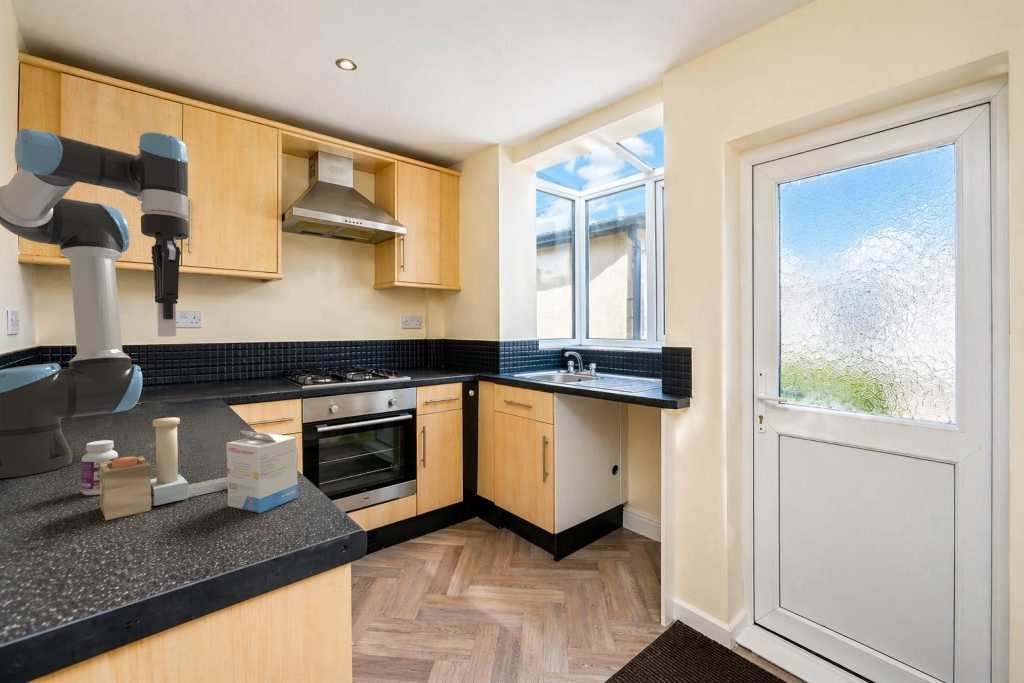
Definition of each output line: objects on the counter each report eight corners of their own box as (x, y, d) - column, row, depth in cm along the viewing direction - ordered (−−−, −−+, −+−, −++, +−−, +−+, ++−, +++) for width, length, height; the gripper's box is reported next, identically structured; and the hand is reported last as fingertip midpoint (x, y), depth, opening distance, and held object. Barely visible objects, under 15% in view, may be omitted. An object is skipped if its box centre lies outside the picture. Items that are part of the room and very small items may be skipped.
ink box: (299, 498, 87) (298, 427, 87) (258, 514, 80) (257, 437, 79) (268, 491, 91) (267, 423, 90) (226, 506, 83) (225, 432, 83)
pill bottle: (96, 497, 87) (95, 446, 87) (74, 495, 88) (73, 444, 88) (125, 487, 93) (124, 439, 92) (104, 485, 94) (103, 438, 93)
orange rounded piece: (111, 479, 82) (110, 459, 81) (135, 474, 84) (135, 455, 84) (113, 483, 79) (113, 463, 79) (138, 478, 82) (138, 459, 82)
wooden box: (100, 507, 82) (99, 462, 82) (143, 498, 87) (142, 456, 86) (105, 520, 77) (104, 472, 77) (151, 510, 81) (150, 464, 81)
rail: (144, 499, 86) (143, 483, 86) (235, 480, 97) (235, 466, 97) (150, 508, 82) (149, 491, 82) (245, 487, 93) (244, 472, 93)
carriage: (147, 496, 87) (145, 418, 86) (179, 490, 90) (178, 415, 90) (154, 506, 82) (153, 424, 81) (188, 499, 86) (187, 420, 85)
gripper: (135, 218, 93) (137, 336, 94) (146, 207, 84) (149, 337, 85) (180, 224, 98) (182, 335, 99) (195, 214, 89) (197, 336, 90)
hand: (167, 336), depth 92 cm, fingers closed
